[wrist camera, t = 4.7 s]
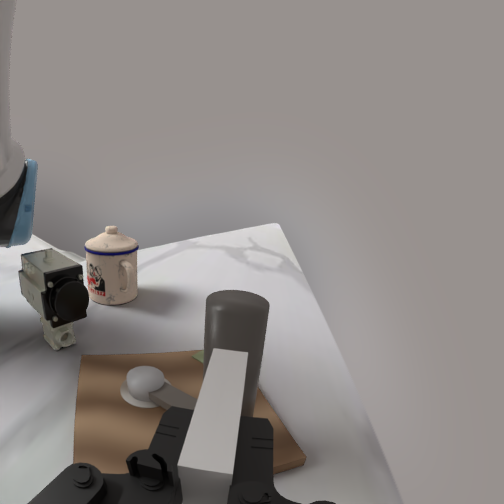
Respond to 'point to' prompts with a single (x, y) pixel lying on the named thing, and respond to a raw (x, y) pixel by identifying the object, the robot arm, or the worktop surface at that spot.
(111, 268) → the teacup with lid
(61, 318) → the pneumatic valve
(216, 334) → the peg lever
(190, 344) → the worktop surface
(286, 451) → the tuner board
